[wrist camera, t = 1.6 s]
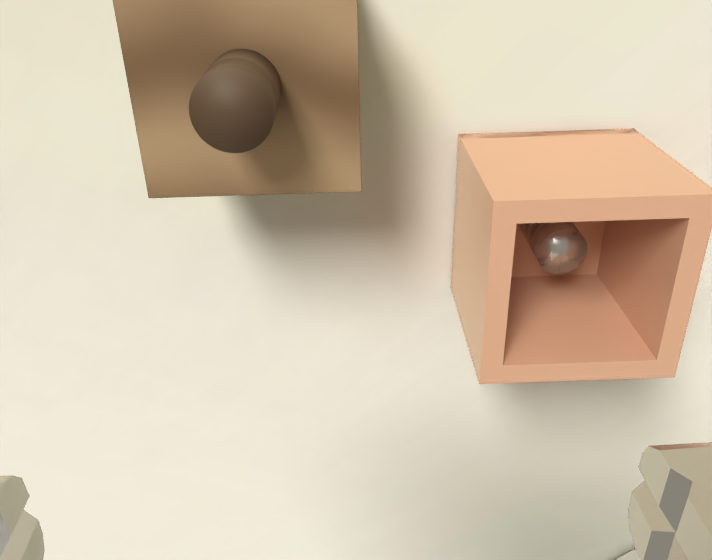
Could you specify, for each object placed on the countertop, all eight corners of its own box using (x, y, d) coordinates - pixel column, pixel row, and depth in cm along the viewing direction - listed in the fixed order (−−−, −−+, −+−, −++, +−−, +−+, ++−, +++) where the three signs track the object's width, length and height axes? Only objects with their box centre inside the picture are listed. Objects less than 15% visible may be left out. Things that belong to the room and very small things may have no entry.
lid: (360, 182, 29) (364, 227, 25) (154, 189, 29) (125, 234, 25) (355, -45, 24) (358, -35, 21) (114, -38, 24) (71, -27, 20)
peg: (560, 238, 37) (583, 273, 34) (516, 239, 37) (534, 274, 33) (565, 196, 36) (590, 228, 32) (520, 198, 36) (540, 230, 32)
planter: (606, 282, 39) (674, 377, 31) (450, 287, 39) (479, 383, 31) (633, 128, 35) (720, 193, 27) (458, 134, 35) (493, 201, 27)
